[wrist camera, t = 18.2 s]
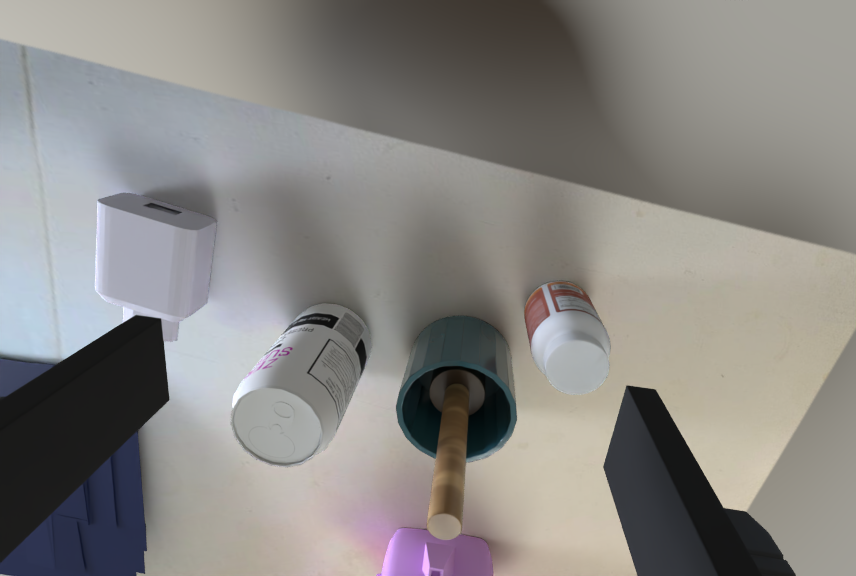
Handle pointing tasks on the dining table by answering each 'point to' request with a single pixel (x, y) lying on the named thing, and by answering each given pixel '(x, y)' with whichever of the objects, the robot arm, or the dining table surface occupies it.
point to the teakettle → (436, 555)
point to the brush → (452, 445)
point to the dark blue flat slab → (84, 513)
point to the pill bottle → (567, 338)
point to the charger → (153, 258)
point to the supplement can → (301, 387)
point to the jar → (468, 348)
